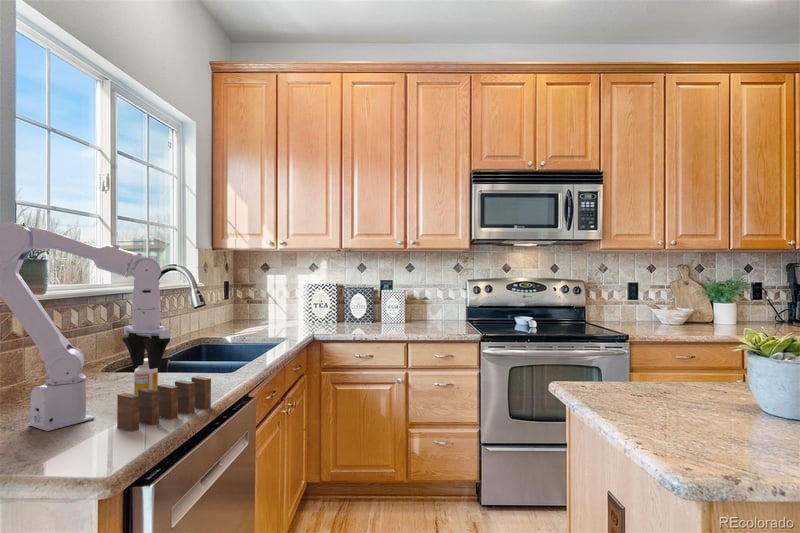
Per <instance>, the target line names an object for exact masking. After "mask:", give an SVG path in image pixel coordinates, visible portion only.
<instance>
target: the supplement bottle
mask: <svg viewBox="0 0 800 533" xmlns="http://www.w3.org/2000/svg"><path fill="white" fill-rule="evenodd" d="M158 369H159V368H156V369H149V365H148V357H144V363H143V365H140V366H137V368H135V369H134V375H133V376H134V379H133V380H134V383H133V384H134V385H133V386H134V388H133V390H134V391H133V392H134V394H133V395H137V396H138V390H139V389H144V388H146V389H151V390H156V391H157V385H159V384H158V383H159V381H158V380H159V376H158V375H159V373H158V372H159V371H158Z"/></svg>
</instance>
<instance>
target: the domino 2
mask: <svg viewBox="0 0 800 533" xmlns="http://www.w3.org/2000/svg"><path fill="white" fill-rule="evenodd" d="M138 396H139V424H144V425H148V426H155V425H159V424H160V417H159V391H156V390H151V389H146V388H144V389H139V390H138Z"/></svg>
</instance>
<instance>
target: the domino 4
mask: <svg viewBox="0 0 800 533" xmlns="http://www.w3.org/2000/svg"><path fill="white" fill-rule="evenodd" d="M174 386H177V387H178V413H182V414H186V415H190V414H194V413H196V411H195V409H196V407H195V382H191V381H188V380H183V379H180V380H175V381H174Z"/></svg>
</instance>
